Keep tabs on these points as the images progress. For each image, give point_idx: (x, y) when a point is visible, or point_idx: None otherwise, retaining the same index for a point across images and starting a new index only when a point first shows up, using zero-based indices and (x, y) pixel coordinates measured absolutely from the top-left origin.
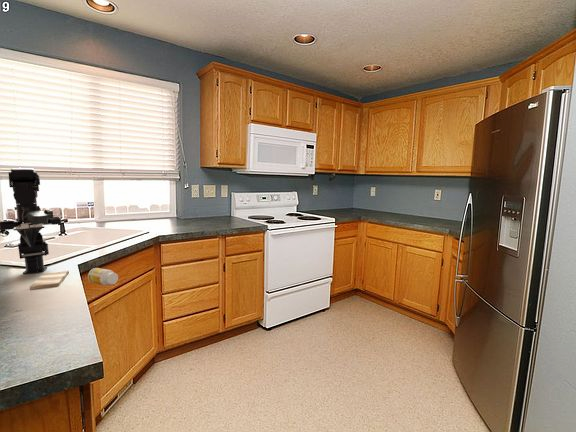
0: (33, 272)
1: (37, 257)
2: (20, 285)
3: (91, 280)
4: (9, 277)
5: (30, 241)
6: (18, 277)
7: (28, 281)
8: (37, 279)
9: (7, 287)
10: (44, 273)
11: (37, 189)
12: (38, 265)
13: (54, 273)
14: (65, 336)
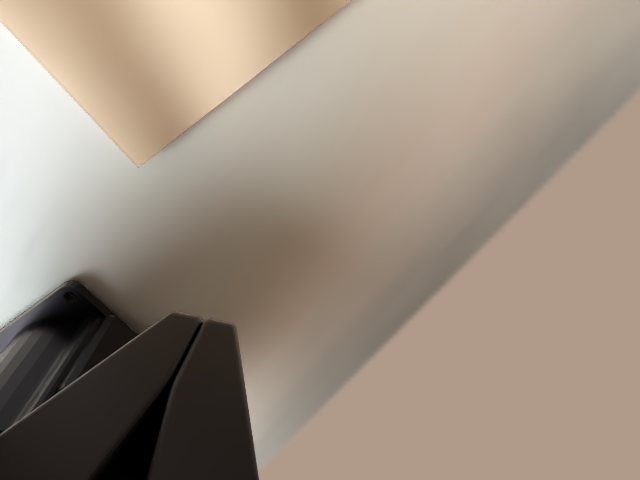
0: (129, 329)
1: (9, 424)
2: (459, 98)
3: None
4: (282, 405)
5: (212, 433)
6: (262, 341)
7: (334, 141)
8: (333, 10)
9: (527, 171)
10: (140, 151)
11: None
12: (55, 355)
13: (95, 26)
14: None
